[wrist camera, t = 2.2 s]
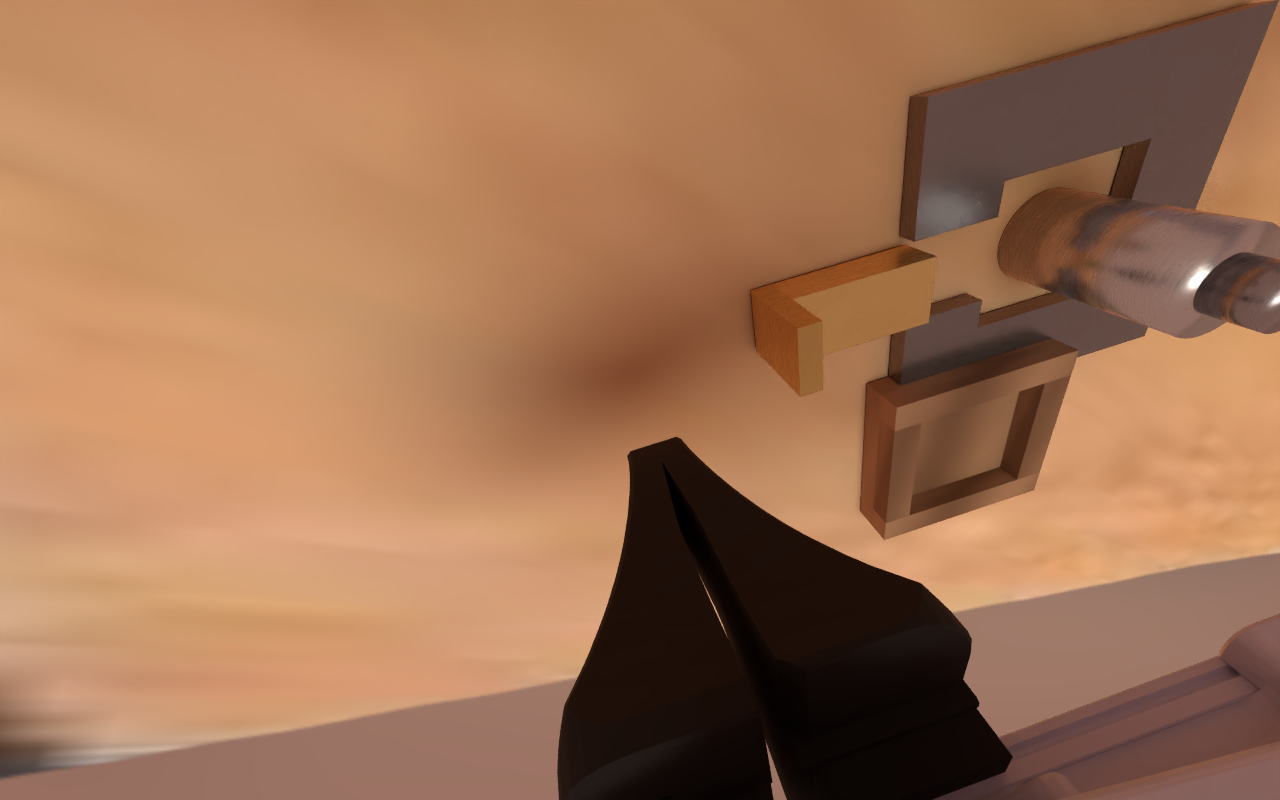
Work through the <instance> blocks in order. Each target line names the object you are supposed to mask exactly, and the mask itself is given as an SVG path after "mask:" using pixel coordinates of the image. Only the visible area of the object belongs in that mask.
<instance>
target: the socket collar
mask: <svg viewBox="0 0 1280 800" xmlns="http://www.w3.org/2000/svg"><path fill="white" fill-rule="evenodd" d="M1278 1H1279V0H1275V1H1268V2H1260V3H1252V4H1246V5H1242V6H1239V7H1235V8H1231V9H1228V10H1224V11H1220V12H1217V13H1213V14H1210V15H1206V16H1202V17H1199V18H1195V19H1191V20H1188V21H1184V22H1180V23H1177V24H1173V25H1170V26H1166V27H1162V28H1159V29H1155V30H1151V31H1148V32H1144V33H1140V34H1137V35H1133V36H1129V37H1126V38H1122V39H1119V40H1115V41H1111V42H1108V43H1104V44H1100V45H1097V46H1093V47H1089V48H1086V49H1082V50H1079V51H1075V52H1071V53H1068V54H1064V55H1060V56H1057V57H1053V58H1049V59H1046V60H1042V61H1039V62H1035V63H1031V64H1028V65H1024V66H1020V67H1017V68H1013V69H1009V70H1006V71H1002V72H998V73H995V74H991V75H988V76H984V77H980V78H977V79H973V80H969V81H966V82H962V83H958V84H955V85H951V86H948V87H944V88H940V89H937V90H933V91H929V92H926V93H922V94H918V95H915V96H911V97H910V110H909V122H908V135H907V148H906V160H905V173H904V185H903V198H902V211H901V223H900V236H901V237H903V238H906V239H909V240H912V241H918V240H921V239H924V238H928V237H931V236H935V235H938V234H941V233H945V232H948V231H952V230H955V229H958V228H962V227H965V226H968V225H972V224H975V223H979V222H982V221H985V220H989V219H992V218H996V217H998V214H999V208H1000V203H1001V198H1002V192H1003V187H1004V181H1006V180H1010V179H1013V178H1017V177H1020V176H1023V175H1027V174H1030V173H1034V172H1037V171H1041V170H1044V169H1048V168H1051V167H1054V166H1058V165H1061V164H1065V163H1068V162H1072V161H1075V160H1079V159H1082V158H1086V157H1089V156H1092V155H1096V154H1099V153H1103V152H1106V151H1110V150H1113V149H1117V148H1120V147H1123V146H1125V147H1124V150H1123V154H1122V157H1121V160H1120V164H1119V167H1118V170H1117V174H1116V177H1115V180H1114V184H1113V187H1112V190H1111V193H1110V196H1114V197H1120V198H1126V199H1132V200H1138V201H1144V202H1150V203H1156V204H1162V205H1168V206H1174V207H1180V208H1186V209H1192V210H1195V208H1196V206H1197V203H1198V201H1199V198H1200V196H1201V193H1202V191H1203V188H1204V186H1205V183H1206V181H1207V178H1208V176H1209V173H1210V171H1211V168H1212V166H1213V163H1214V161H1215V158H1216V156H1217V153H1218V151H1219V148H1220V146H1221V143H1222V141H1223V138H1224V136H1225V133H1226V131H1227V128H1228V126H1229V123H1230V121H1231V118H1232V116H1233V113H1234V111H1235V108H1236V106H1237V103H1238V101H1239V98H1240V96H1241V93H1242V91H1243V88H1244V86H1245V83H1246V81H1247V78H1248V76H1249V73H1250V71H1251V68H1252V66H1253V63H1254V61H1255V58H1256V56H1257V53H1258V51H1259V48H1260V46H1261V43H1262V41H1263V38H1264V36H1265V33H1266V31H1267V28H1268V26H1269V23H1270V21H1271V18H1272V16H1273V13H1274V11H1275V8H1276V6H1277V3H1278ZM981 305H982V300H980V299H978V298H976V297H974V296H971V295H969V294H963V295H960V296H957V297H954V298H950V299H947V300H944V301H940V302H937V303H934V304H931V308H930V316H929V323H926V324H923V325H920V326H917V327H913V328H910V329H907V330H904V331H900V332H897V333H894V334H892V337H891V349H890V362H889V374H888V377H889V378H891V379H892V380H893V381H895V382H896V383H897V384H899V385H900V386H901V385H904V384H908V383H911V382H914V381H917V380H920V379H924V378H927V377H930V376H933V375H936V374H939V373H943V372H946V371H949V370H952V369H955V368H959V367H962V366H965V365H968V364H971V363H975V362H978V361H981V360H984V359H987V358H990V357H994V356H997V355H1000V354H1003V353H1006V352H1010V351H1013V350H1016V349H1019V348H1022V347H1026V346H1029V345H1032V344H1035V343H1038V342H1041V341H1045V340H1048V339H1051V338H1053V339H1055V340H1057V341H1060V342H1062V343H1064V344H1066V345H1069V346H1071V347H1073V348H1075V349H1077V350H1079V352H1078V355H1077V357H1080V356H1083V355H1086V354H1089V353H1092V352H1095V351H1099V350H1102V349H1105V348H1108V347H1111V346H1114V345H1117V344H1121V343H1124V342H1127V341H1130V340H1133V339H1136V338H1139V337H1143V336H1145V333H1146V331H1147V328H1148V327H1147V326H1145V325H1142V324H1139V323H1136V322H1134V321H1131V320H1128V319H1125V318H1122V317H1120V316H1117V315H1114V314H1111V313H1109V312H1106V311H1103V310H1100V309H1098V308H1095V307H1092V306H1089V305H1087V304H1084V303H1081V302H1078V301H1076V300H1073V299H1070V298H1067V297H1065V296H1062V295H1059V294H1056V293H1054V292H1053V293H1049V294H1046V295H1043V296H1040V297H1036V298H1033V299H1030V300H1027V301H1023V302H1020V303H1017V304H1014V305H1010V306H1007V307H1004V308H1001V309H997V310H994V311H991V312H988V313H984V314H981V315H980V310H981Z"/></svg>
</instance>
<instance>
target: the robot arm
mask: <svg viewBox="0 0 1280 800" xmlns="http://www.w3.org/2000/svg"><path fill="white" fill-rule="evenodd" d="M627 457H628V461H629V468H630V495H629V508H628V518H627V524H626V530H625V537H624V543H623V548H622V553H621V558H620V562H619V566H618V570H617V574H616V578H615V581H614V585H613V588H612V591H611V595H610V598H609V601H608V604H607V607H606V610H605V613H604V616H603V619H602V621H601V624H600V627H599V629H598V632H597V634H596V637H595V639H594V642H593V644H592V647H591V649H590V652H589V654H588V657H587V659H586V661H585V664H584V666H583V668H582V670H581V672H580V674H579V676H578V678H577V680H576V682H575V684H574V687H573V689H572V691H571V693H570V695H569V697H568V699H567V701H566V703H565V706H564V711H563V717H562V723H561V730H560V739H559V748H558V772H557V773H558V790H559V800H773V794H772V788H771V783H772V777H771V771H770V765H769V759H768V753H767V747H766V743H767V745H768V748H769V751H770V754H771V757H772V759H773V762H774V765H775V768H776V771H777V773H778V776H779V779H780V782H781V784H782V787H783V790H784V793H785V796H786V798H787V800H1280V614H1277V615H1275V616H1272V617H1269V618H1267V619H1264V620H1261V621H1259V622H1256V623H1253V624H1251V625H1249V626H1247V627H1244V628H1243V629H1241V630H1240V631H1238V632H1237V633H1235V634H1234V635H1233V636H1232V637H1230V638H1229V639H1228V640H1227V641H1226V643H1225V644H1224V645H1223V647H1222V648H1221V650H1220V655H1219V656H1216V657H1214V658H1211V659H1208V660H1205V661H1203V662H1200V663H1197V664H1195V665H1192V666H1189V667H1187V668H1184V669H1182V670H1179V671H1176V672H1173V673H1171V674H1168V675H1165V676H1162V677H1160V678H1157V679H1154V680H1152V681H1149V682H1146V683H1144V684H1141V685H1138V686H1136V687H1133V688H1130V689H1127V690H1125V691H1122V692H1119V693H1117V694H1114V695H1111V696H1109V697H1106V698H1103V699H1101V700H1098V701H1095V702H1093V703H1090V704H1087V705H1084V706H1082V707H1079V708H1076V709H1074V710H1071V711H1068V712H1066V713H1063V714H1061V715H1058V716H1055V717H1052V718H1050V719H1047V720H1044V721H1041V722H1039V723H1036V724H1033V725H1031V726H1028V727H1025V728H1023V729H1020V730H1017V731H1015V732H1012V733H1009V734H1007V735H1004V736H1001V737H998V736H997V735H996V733H995V732H994V731H993V730H992V728H991V727H990V726H989V724H988V723H987V722H986V720H985V719H984V718H983V716H982V715H981V714H980V712H979V711H978V710H977V707H978V706H979V701H978V699H977V697H976V696H975V695H974V693H973V692H972V691H971V689H970V688H969V687H968V685H967V684H966V683H965V682H964V680H963V678H964V674H965V671H966V667H967V664H968V661H969V657H970V653H971V643H972V639H971V637H970V635H969V633H968V631H967V630H966V629H965V628H964V626H963V625H962V624H961V623H960V622H959V620H958V619H957V618H956V617H955V616H954V615H953V613H952V612H951V611H950V610H949V609H948V608H947V607H946V606H945V605H944V604H943V603H942V602H940V601H939V600H938V599H937V598H936V597H935V596H934V595H933V594H932V593H931V592H930V591H929V590H928V589H927V588H926V587H925V586H923V585H922V584H921V583H919V582H916V581H913V580H910V579H907V578H904V577H902V576H899V575H896V574H893V573H890V572H887V571H885V570H882V569H879V568H876V567H873V566H871V565H868V564H866V563H864V562H861V561H859V560H857V559H854V558H852V557H849V556H847V555H845V554H843V553H841V552H839V551H837V550H835V549H833V548H830V547H828V546H826V545H824V544H822V543H820V542H818V541H816V540H814V539H812V538H810V537H808V536H806V535H804V534H802V533H801V532H799V531H797V530H795V529H794V528H792V527H790V526H788V525H787V524H785V523H783V522H782V521H780V520H778V519H777V518H775V517H774V516H772V515H770V514H769V513H767V512H766V511H764V510H763V509H761V508H760V507H758V506H757V505H755V504H754V503H753V502H751V501H750V500H748V499H747V498H746V497H744V496H743V495H742V494H740V493H739V492H738V491H736V490H735V489H734V488H733V487H731V486H730V485H729V484H728V483H726V482H725V481H724V480H723V479H722V478H720V477H719V476H718V475H717V474H716V473H714V472H713V471H712V470H711V469H710V468H709V467H708V466H707V465H706V464H704V463H703V462H702V461H701V460H700V459H699V458H698V457H697V456H696V455H695V454H694V453H693V452H692V451H691V450H690V449H689V448H688V447H687V445H686V444H685V443H684V442H683V441H682V439H680V438H678V437H674V438H671V439H668V440H665V441H662V442H658V443H655V444H652V445H649V446H646V447H643V448H639V449H636V450H633V451H630V453H629V454H628V456H627ZM699 575H700V576H699ZM700 577H701V578H700ZM701 579H702V580H701ZM702 581H703V583H704V585H705V587H706V589H707V591H708V593H709V596H710V598H711V600H712V602H713V604H714V606H715V608H716V610H717V612H718V615H719V617H720V619H721V622H722V624H723V626H724V629H725V631H724V629H723V627H722V625H721V623H720V621H719V618H718V616H717V614H716V612H715V610H714V607H713V605H712V603H711V601H710V598H709V596H708V594H707V592H706V589H705V587H704V585H703V583H702ZM725 632H726V634H727V636H726V634H725ZM727 637H728V638H727ZM765 740H766V741H765Z"/></svg>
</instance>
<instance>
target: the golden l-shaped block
mask: <svg viewBox="0 0 1280 800" xmlns="http://www.w3.org/2000/svg"><path fill="white" fill-rule="evenodd" d="M936 259H937V256H934V255H932V254H929V253H926V252H924V251H921V250H918V249H916V248H913V247H910V246H908V245H903V246H900V247H896V248H893V249H890V250H886V251H883V252H879V253H876V254H873V255H869V256H866V257H862V258H859V259H856V260H852V261H849V262H845V263H842V264H839V265H835V266H832V267H828V268H825V269H822V270H818V271H815V272H812V273H808V274H805V275H801V276H798V277H795V278H791V279H788V280H784V281H781V282H778V283H774V284H771V285H767V286H764V287H761V288H757V289H754V290H751V298H752V309H753V320H754V330H755V341H756V351H757V352H758V353H759V354H760V355H761V356H762V357H763V358H764V359H765V360H766V361H767V362H768V364H769V365H770V366H771V367H772V368H773V369H774V370H775V371H776V372H777V373H778V374H779V375H780V376H781V377H782V378H783V379H784V380H785V381H786V382H787V383H788V385H789V386H790V387H791V388H792V389H793V390H794V391H795V392H796V393H797V394H798V395H799V396H800V397H801V396H805V395H808V394H811V393H814V392H817V391H821V390H823V355H825V354H828V353H832V352H835V351H838V350H842V349H845V348H848V347H851V346H855V345H858V344H861V343H864V342H868V341H871V340H874V339H877V338H881V337H884V336H887V335H890V334H894V333H897V332H900V331H904V330H907V329H910V328H913V327H917V326H920V325H923V324H926V323H929V316H930V308H931V300H932V292H933V284H934V276H935V268H936Z"/></svg>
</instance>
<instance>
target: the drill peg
mask: <svg viewBox="0 0 1280 800" xmlns="http://www.w3.org/2000/svg"><path fill="white" fill-rule="evenodd" d="M998 263H999V266H1000V268H1001V270H1002V271H1003V272H1004V273H1005V274H1006V275H1008V276H1010V277H1012V278H1015V279H1018V280H1021V281H1023V282H1026V283H1029V284H1032V285H1034V286H1037V287H1040V288H1043V289H1045V290H1048V291H1051V292H1054V293H1056V294H1059V295H1062V296H1065V297H1067V298H1070V299H1073V300H1076V301H1078V302H1081V303H1084V304H1087V305H1089V306H1092V307H1095V308H1098V309H1100V310H1103V311H1106V312H1109V313H1111V314H1114V315H1117V316H1120V317H1122V318H1125V319H1128V320H1131V321H1134V322H1136V323H1139V324H1142V325H1145V326H1147V327H1150V328H1153V329H1156V330H1158V331H1161V332H1164V333H1167V334H1169V335H1172V336H1175V337H1178V338H1193V337H1197V336H1200V335H1203V334H1206V333H1208V332H1210V331H1212V330H1214V329H1216V328H1218V327H1219V326H1221V325H1222V324H1224V323H1225V322H1229V323H1232V324H1235V325H1238V326H1242V327H1245V328H1248V329H1251V330H1254V331H1257V332H1261V333H1264V334H1271V333H1275V332H1278V331H1280V227H1279V226H1277V225H1276V224H1274V223H1271V222H1265V221H1259V220H1253V219H1247V218H1241V217H1235V216H1229V215H1222V214H1216V213H1210V212H1204V211H1198V210H1192V209H1186V208H1180V207H1174V206H1168V205H1162V204H1156V203H1150V202H1144V201H1138V200H1132V199H1126V198H1120V197H1114V196H1108V195H1102V194H1096V193H1090V192H1084V191H1078V190H1072V189H1066V188H1053V189H1049V190H1046V191H1043V192H1041V193H1039V194H1037V195H1036V196H1034V197H1033V198H1031V199H1030V200H1029V201H1027V202H1026V203H1025V204H1024V205H1023V206H1022V207H1021V208H1020V209H1019V210H1018V211H1017V212H1016V213H1015V215H1014V216H1013V217H1012V218H1011V220H1010V221H1009V223H1008V225H1007V226H1006V228H1005V230H1004V232H1003V234H1002V237H1001V240H1000V243H999V247H998Z"/></svg>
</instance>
